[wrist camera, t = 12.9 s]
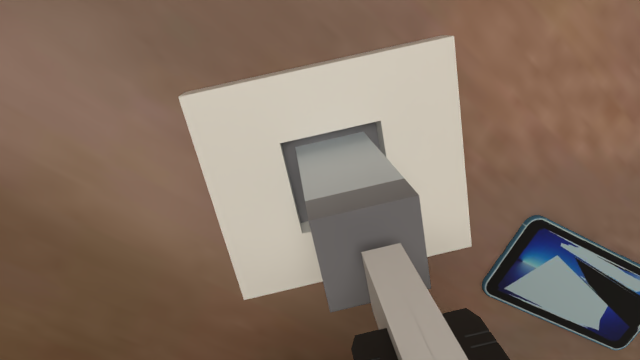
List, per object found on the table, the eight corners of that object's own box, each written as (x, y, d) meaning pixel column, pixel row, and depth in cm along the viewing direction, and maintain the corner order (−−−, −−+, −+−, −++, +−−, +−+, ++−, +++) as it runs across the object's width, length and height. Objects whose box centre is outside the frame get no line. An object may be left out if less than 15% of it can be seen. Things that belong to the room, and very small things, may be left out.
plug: (309, 209, 28) (330, 312, 18) (295, 147, 27) (308, 220, 16) (374, 194, 28) (431, 288, 18) (363, 131, 27) (419, 195, 17)
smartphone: (534, 212, 30) (679, 285, 33) (527, 206, 31) (669, 278, 34) (478, 292, 32) (620, 354, 35) (472, 285, 33) (612, 346, 36)
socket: (245, 284, 30) (244, 300, 28) (184, 92, 25) (178, 96, 23) (460, 234, 30) (471, 246, 29) (441, 35, 26) (453, 35, 24)
